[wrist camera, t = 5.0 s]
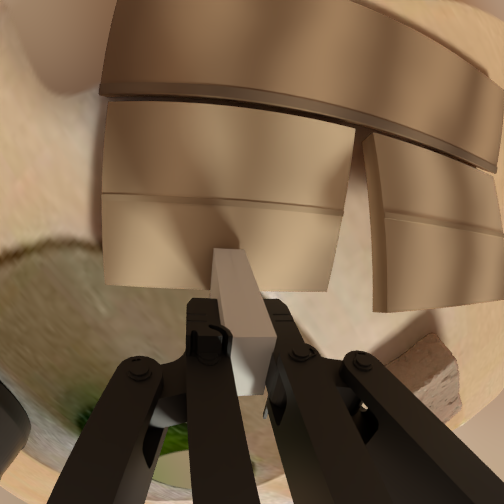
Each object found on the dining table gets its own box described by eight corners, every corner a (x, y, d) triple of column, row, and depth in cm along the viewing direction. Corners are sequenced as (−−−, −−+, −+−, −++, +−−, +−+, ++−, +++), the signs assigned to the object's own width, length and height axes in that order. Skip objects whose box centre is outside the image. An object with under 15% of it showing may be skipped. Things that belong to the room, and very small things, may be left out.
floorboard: (107, 97, 12) (98, 94, 11) (131, -19, 9) (125, -30, 8) (482, 169, 18) (496, 174, 16) (492, 89, 15) (505, 90, 14)
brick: (362, 379, 25) (384, 416, 21) (432, 325, 24) (461, 356, 20) (397, 424, 32) (412, 449, 28) (446, 387, 31) (463, 410, 27)
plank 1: (110, 275, 15) (104, 285, 14) (114, 104, 12) (107, 101, 11) (318, 282, 18) (327, 292, 16) (344, 129, 15) (356, 128, 14)
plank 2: (372, 312, 14) (388, 312, 12) (361, 141, 15) (373, 131, 14) (494, 299, 16) (507, 299, 15) (482, 181, 17) (493, 176, 16)
